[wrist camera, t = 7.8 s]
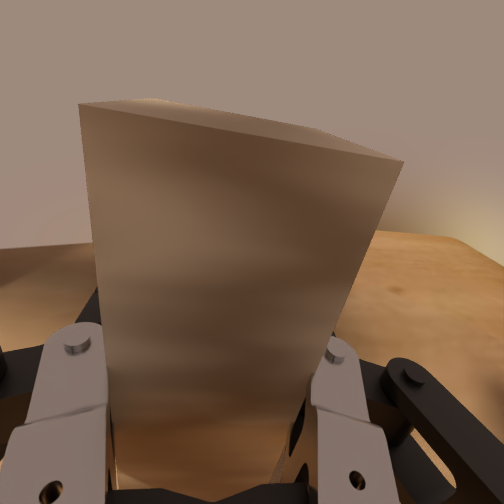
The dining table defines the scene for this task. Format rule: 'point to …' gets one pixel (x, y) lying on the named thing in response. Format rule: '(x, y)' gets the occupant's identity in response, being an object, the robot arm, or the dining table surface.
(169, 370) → the batten
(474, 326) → the dining table surface
